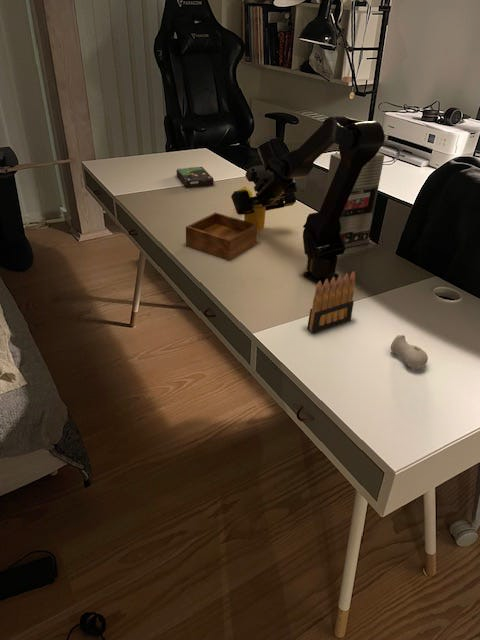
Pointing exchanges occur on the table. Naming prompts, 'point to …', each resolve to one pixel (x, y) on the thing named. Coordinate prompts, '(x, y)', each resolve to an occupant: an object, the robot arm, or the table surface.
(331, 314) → the ammunition clip
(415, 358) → the pale two-lobed sculpture
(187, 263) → the table surface
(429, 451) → the table surface
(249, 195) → the lemon
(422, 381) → the table surface
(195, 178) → the disk drive
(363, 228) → the labelled white carton
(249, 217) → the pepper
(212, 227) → the wooden tray
